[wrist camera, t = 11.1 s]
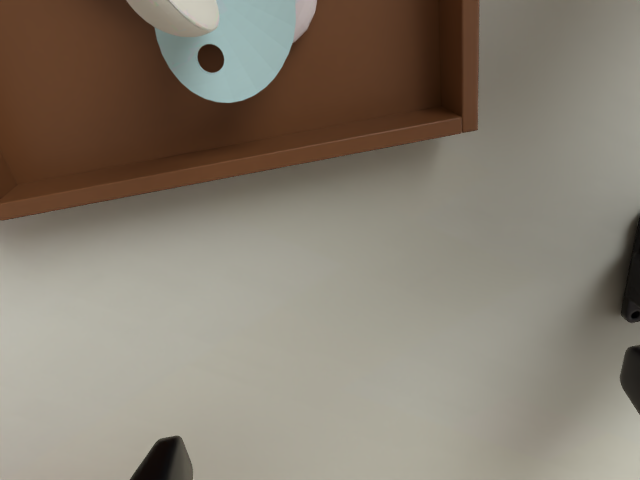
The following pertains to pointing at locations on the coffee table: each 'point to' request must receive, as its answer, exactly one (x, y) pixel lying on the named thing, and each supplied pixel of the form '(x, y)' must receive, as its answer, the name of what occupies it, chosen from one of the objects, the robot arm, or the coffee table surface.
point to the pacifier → (227, 40)
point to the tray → (209, 116)
